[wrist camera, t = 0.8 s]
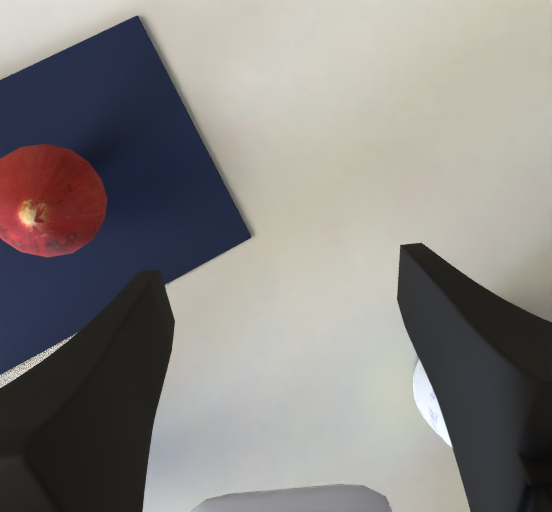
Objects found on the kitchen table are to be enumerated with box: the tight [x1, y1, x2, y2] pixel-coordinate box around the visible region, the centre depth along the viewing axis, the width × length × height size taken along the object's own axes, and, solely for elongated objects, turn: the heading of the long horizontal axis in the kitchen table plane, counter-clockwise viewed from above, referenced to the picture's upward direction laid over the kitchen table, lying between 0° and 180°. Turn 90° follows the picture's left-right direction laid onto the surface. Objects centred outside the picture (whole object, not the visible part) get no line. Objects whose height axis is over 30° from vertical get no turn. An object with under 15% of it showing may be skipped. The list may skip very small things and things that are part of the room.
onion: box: [0, 144, 107, 257], centre depth 24 cm, size 6×6×8 cm
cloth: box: [0, 16, 251, 375], centre depth 28 cm, size 20×15×1 cm
